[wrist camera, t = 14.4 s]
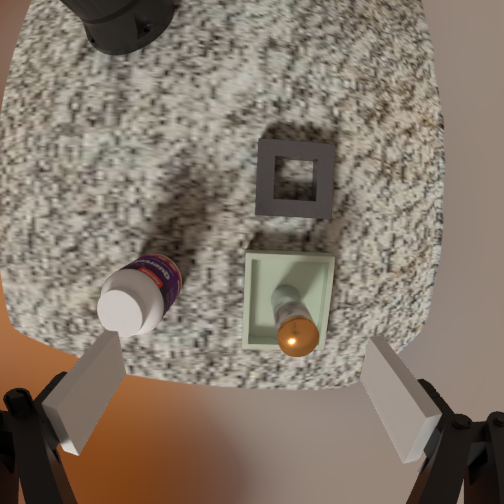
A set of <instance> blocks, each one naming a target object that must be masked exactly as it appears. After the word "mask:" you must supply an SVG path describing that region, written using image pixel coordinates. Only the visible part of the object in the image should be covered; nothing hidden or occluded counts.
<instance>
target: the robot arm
mask: <svg viewBox="0 0 504 504" xmlns="http://www.w3.org/2000/svg"><path fill="white" fill-rule="evenodd" d="M60 1H61V2H62V3H63V4H64V5H66V6H67V7H68V8H69V9H70V10H71V11H72V12H73V13H75V14H76V15H77V16H78V17H79V18H80V19H81V20H82V21H83V25H84V28H85V31H86V35H87V38H88V40H89V42H90V43H91V44H92V45H93V46H94V47H95V48H96V49H97V50H99V51H100V52H102V53H104V54H108V55H123V54H127V53H131V52H134V51H136V50H139V49H141V48H143V47H144V46H146V45H148V44H149V43H151V42H152V41H154V40H155V39H156V38H157V37H158V36H159V35H160V34H161V33H162V32H163V31H164V30H165V29H166V27H167V26H168V24H169V23H170V21H171V19H172V16H173V12H174V4H173V1H172V0H60ZM125 375H126V371H125V366H124V361H123V356H122V351H121V345H120V340H119V334H118V331H110V330H105V331H104V332H103V333H102V335H101V336H100V337H99V338H98V339H97V340H96V341H95V342H94V343H93V345H92V346H91V347H90V348H89V349H88V350H87V351H86V352H85V353H84V355H83V356H82V357H81V358H80V359H79V360H78V361H77V363H76V364H75V365H74V366H73V367H72V368H71V369H70V371H69V372H61V373H60V374H58V375H56V376H55V377H54V378H53V379H52V380H51V382H50V384H48V385H47V386H46V387H45V388H44V389H43V390H42V392H41V393H40V394H39V395H38V396H37V397H36V398H35V400H34V401H33V400H32V397H31V395H30V393H29V391H28V390H26V389H23V388H15V389H12V390H10V391H8V392H7V393H6V394H5V395H4V398H3V400H4V403H5V405H6V407H7V409H8V411H1V410H0V504H18V492H19V477H20V482H21V487H22V491H23V495H24V499H25V502H26V504H78V503H77V501H76V499H75V496H74V494H73V491H72V489H71V486H70V484H69V481H68V478H67V476H66V473H65V470H64V467H63V465H62V461H61V458H60V455H59V452H58V451H57V449H56V447H57V445H58V444H59V442H60V444H61V445H62V447H63V449H64V451H66V452H69V453H72V454H75V455H78V456H79V455H80V453H81V451H82V449H83V447H84V446H85V444H86V442H87V440H88V438H89V437H90V435H91V433H92V431H93V430H94V428H95V426H96V424H97V423H98V421H99V419H100V417H101V416H102V414H103V412H104V410H105V409H106V407H107V405H108V404H109V402H110V400H111V398H112V397H113V395H114V393H115V392H116V390H117V388H118V387H119V385H120V383H121V382H122V380H123V378H124V377H125ZM360 380H361V382H362V384H363V386H364V388H365V390H366V392H367V394H368V395H369V397H370V399H371V401H372V403H373V405H374V407H375V409H376V411H377V413H378V415H379V417H380V419H381V421H382V423H383V425H384V427H385V429H386V431H387V433H388V435H389V437H390V438H391V441H392V443H393V445H394V447H395V449H396V451H397V452H398V455H399V457H400V459H401V461H402V463H403V464H405V463H408V462H412V461H416V460H418V459H419V458H420V456H421V454H422V452H423V451H424V452H425V454H426V456H427V457H426V459H425V461H424V462H423V464H422V466H421V467H420V469H419V470H418V472H420V473H419V475H418V478H417V480H416V483H415V485H414V487H413V489H412V492H411V494H410V496H409V498H408V500H407V502H406V504H456V503H457V500H458V497H459V493H460V490H461V486H462V483H463V479H464V504H504V413H503V412H498V411H496V412H493V413H491V414H490V415H489V416H488V418H487V420H486V421H484V422H483V421H482V422H472V420H471V419H470V418H469V417H468V416H466V415H463V414H454V412H453V411H452V410H451V408H450V407H449V406H448V404H447V403H446V402H445V401H444V399H443V398H442V397H440V394H439V393H438V392H436V389H435V388H434V387H433V386H432V385H431V384H430V383H429V382H427V381H426V380H424V379H419V380H416V378H415V377H414V376H413V374H412V373H411V372H410V371H409V369H408V368H407V367H406V365H405V364H404V363H403V362H402V361H401V359H400V358H399V357H398V355H397V354H396V353H395V352H394V350H393V349H392V348H391V347H390V345H389V344H388V343H387V342H386V340H385V339H384V338H383V337H382V336H374V337H369V339H368V344H367V349H366V354H365V359H364V363H363V368H362V372H361V376H360Z"/></svg>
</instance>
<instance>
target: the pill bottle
mask: <svg viewBox="0 0 504 504" xmlns="http://www.w3.org/2000/svg"><path fill="white" fill-rule="evenodd" d="M181 287H182V277H181V273H180V271H179V269H178V267H177V265H176V264H175V263H174V262H173V261H172V260H171V259H170V258H168V257H166V256H164V255H161V254H156V253H152V254H147V255H144V256H142V257H140V258H139V259H137V260H135V261H133V262H132V263H130V264H128V265H127V266H125V267H123V268H122V269H120V270H118V271H116V272H115V273H113V274H112V275H111V276H109V278H108V279H107V280H106V281H105V283H104V285H103V288H102V291H101V297H100V299H99V302H98V307H97V311H98V316H99V319H100V321H101V323H102V324H103V326H104V327H105V328H106V329H107V330H110V331H118V334H119V337H130V336H133V335H141V334H145V333H148V332H150V331H151V330H153V329H154V328H155V327H156V326H157V325H158V324H159V322H160V321H161V319H162V318H163V316H164V315H165V314H166V312H167V311H168V309H169V308H170V307H171V305H172V304H173V303H174V301H175V300H176V299H177V297H178V296H179V294H180V291H181Z"/></svg>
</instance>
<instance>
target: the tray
mask: <svg viewBox="0 0 504 504" xmlns="http://www.w3.org/2000/svg"><path fill="white" fill-rule="evenodd" d="M334 265H335V256H333V255H332V254H331V253H324V252H301V251H279V250H256V249H246V262H245V287H244V312H243V339H242V348H243V349H274V350H281V349H280V347H279V344H278V339H277V333H276V328H275V322H274V317H273V311H272V306H271V295H272V293H273V291H274V290H275V289H276V288H277V287H279V286H282V285H291V286H293V287H295V288H296V289H297V290H298V291H299V293H300V295H301V297H302V299H303V301H304V303H305V305H306V307H307V309H308V311H309V313H310V315H311V317H312V319H313V321H314V323H315V325H316V327H317V329H318V331H319V342H318V345H317V346H316V348H315V349H314V350H324V344H325V337H326V330H327V323H328V316H329V308H330V301H331V292H332V284H333V275H334Z"/></svg>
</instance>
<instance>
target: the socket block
mask: <svg viewBox="0 0 504 504" xmlns="http://www.w3.org/2000/svg"><path fill="white" fill-rule="evenodd" d="M334 147H335V145H334V144H325V143H315V142H304V141H292V140H278V139H261V138H259V140H258V159H257V181H256V203H255V215H265V216H284V217H302V218H318V219H331V215H332V198H333V178H334ZM275 159H288V160H302V161H313V184H312V201H304V200H288V199H273V194H274V172H275Z"/></svg>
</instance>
